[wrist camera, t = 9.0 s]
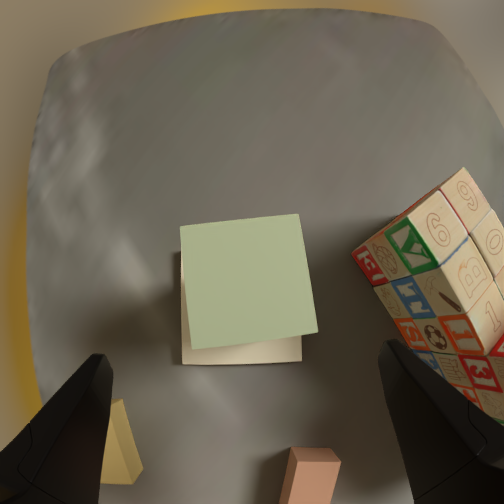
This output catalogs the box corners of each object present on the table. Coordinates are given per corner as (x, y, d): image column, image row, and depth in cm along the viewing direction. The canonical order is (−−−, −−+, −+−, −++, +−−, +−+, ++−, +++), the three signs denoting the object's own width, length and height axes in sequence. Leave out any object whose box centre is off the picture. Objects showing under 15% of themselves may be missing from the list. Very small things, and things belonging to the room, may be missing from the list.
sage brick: (278, 331, 21) (318, 332, 11) (210, 340, 20) (192, 349, 11) (268, 266, 22) (298, 213, 12) (202, 273, 21) (180, 226, 12)
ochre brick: (144, 468, 19) (132, 484, 16) (110, 468, 19) (96, 482, 16) (123, 398, 20) (108, 407, 17) (89, 400, 20) (71, 408, 17)
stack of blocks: (346, 254, 23) (437, 189, 11) (400, 213, 24) (494, 139, 12) (461, 445, 20) (553, 482, 8) (501, 398, 21) (595, 411, 9)
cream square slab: (298, 358, 22) (302, 360, 20) (186, 361, 22) (182, 364, 20) (292, 249, 24) (296, 244, 22) (184, 252, 23) (181, 247, 22)
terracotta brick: (314, 507, 19) (322, 526, 16) (277, 507, 19) (281, 527, 16) (329, 446, 20) (341, 461, 17) (290, 445, 20) (297, 461, 17)
